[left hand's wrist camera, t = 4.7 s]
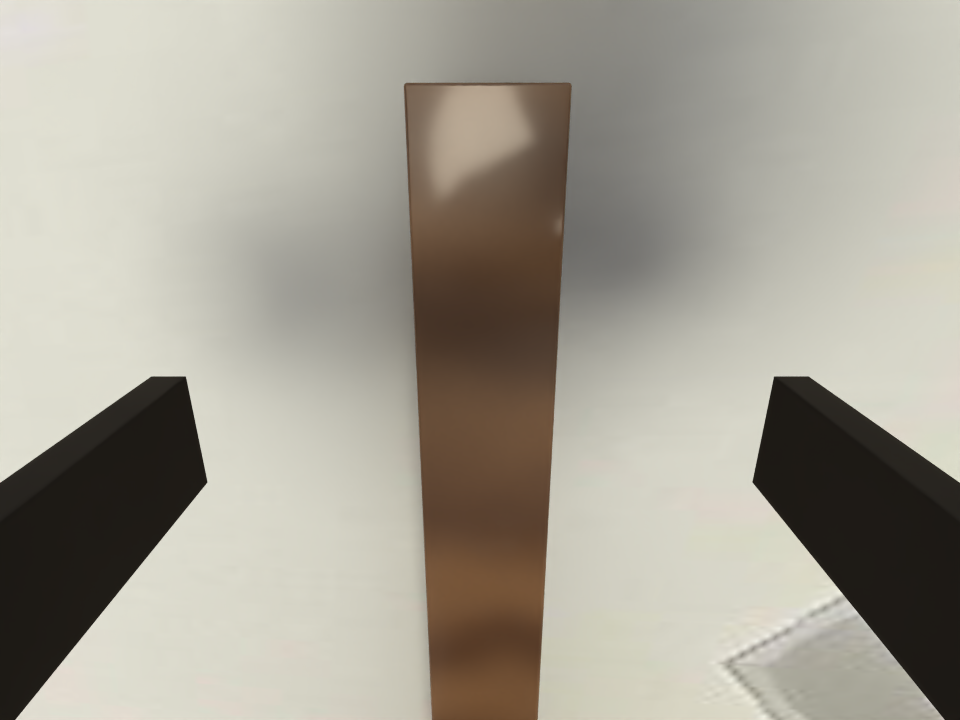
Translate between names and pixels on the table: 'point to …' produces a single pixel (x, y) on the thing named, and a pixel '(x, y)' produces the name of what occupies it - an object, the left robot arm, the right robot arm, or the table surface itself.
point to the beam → (486, 377)
